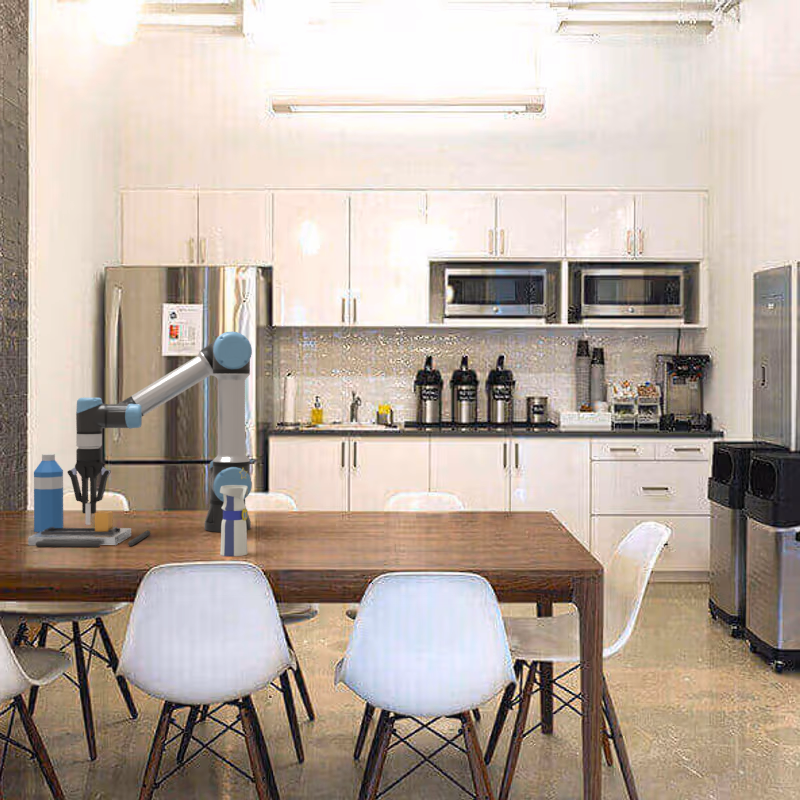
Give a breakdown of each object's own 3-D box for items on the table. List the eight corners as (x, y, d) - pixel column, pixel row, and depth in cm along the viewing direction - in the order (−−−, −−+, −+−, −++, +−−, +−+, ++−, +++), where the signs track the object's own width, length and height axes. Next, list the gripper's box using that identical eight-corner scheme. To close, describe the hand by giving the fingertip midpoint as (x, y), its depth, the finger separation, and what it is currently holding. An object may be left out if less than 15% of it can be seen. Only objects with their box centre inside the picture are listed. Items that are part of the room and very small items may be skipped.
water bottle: (54, 533, 326) (53, 455, 325) (28, 532, 328) (27, 455, 327) (69, 528, 335) (68, 453, 334) (43, 527, 337) (43, 453, 336)
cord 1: (100, 546, 301) (99, 541, 300) (98, 547, 299) (98, 542, 299) (36, 546, 301) (36, 541, 301) (34, 547, 299) (34, 541, 299)
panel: (131, 535, 320) (131, 524, 320) (115, 545, 302) (115, 532, 302) (49, 535, 320) (49, 523, 320) (28, 545, 302) (28, 532, 302)
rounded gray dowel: (145, 535, 321) (145, 530, 321) (150, 535, 321) (150, 530, 321) (127, 546, 300) (127, 541, 300) (132, 546, 300) (132, 541, 300)
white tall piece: (253, 551, 292) (253, 465, 292) (242, 556, 284) (242, 468, 283) (227, 550, 294) (226, 465, 294) (215, 555, 286) (215, 467, 285)
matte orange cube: (112, 530, 314) (112, 511, 314) (108, 532, 309) (108, 513, 309) (99, 530, 314) (99, 511, 314) (95, 532, 309) (94, 513, 309)
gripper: (113, 446, 314) (113, 522, 315) (72, 446, 314) (72, 522, 315) (106, 448, 307) (106, 526, 307) (63, 448, 307) (64, 525, 307)
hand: (89, 524), depth 311 cm, fingers closed
